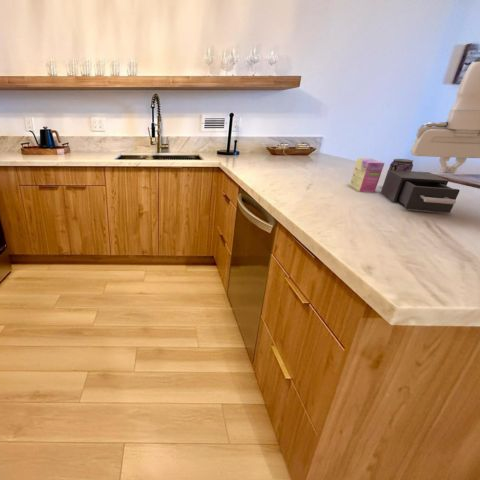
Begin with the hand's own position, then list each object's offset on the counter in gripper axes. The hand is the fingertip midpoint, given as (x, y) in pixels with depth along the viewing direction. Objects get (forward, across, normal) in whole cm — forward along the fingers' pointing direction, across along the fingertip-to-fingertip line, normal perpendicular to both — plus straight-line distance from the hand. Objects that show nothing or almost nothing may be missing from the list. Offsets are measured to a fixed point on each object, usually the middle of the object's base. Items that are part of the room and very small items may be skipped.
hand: (446, 173), depth 84 cm
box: (+13, -12, +29) cm, 34 cm away
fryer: (+13, 0, +18) cm, 22 cm away
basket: (+12, 0, +6) cm, 14 cm away
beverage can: (+13, 0, +33) cm, 35 cm away
